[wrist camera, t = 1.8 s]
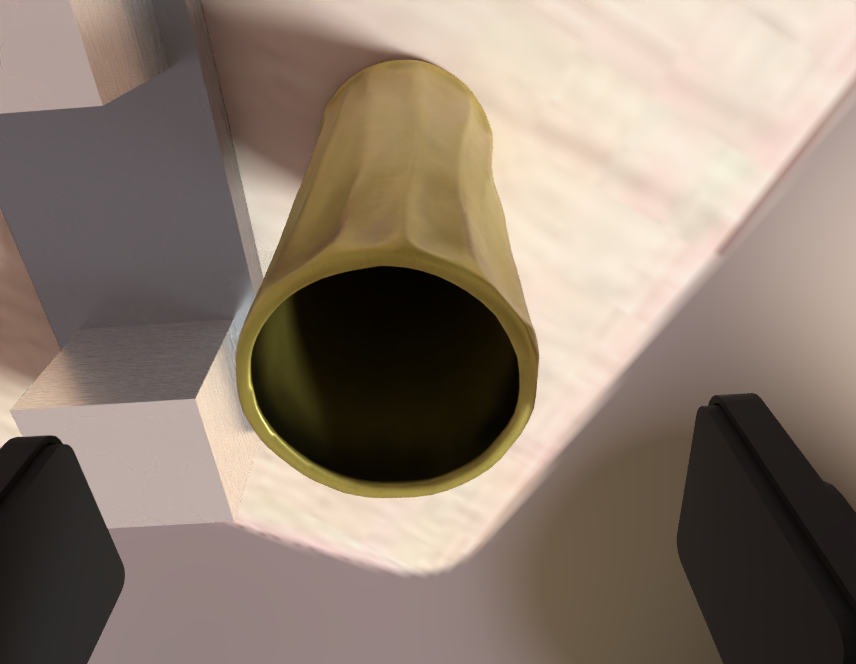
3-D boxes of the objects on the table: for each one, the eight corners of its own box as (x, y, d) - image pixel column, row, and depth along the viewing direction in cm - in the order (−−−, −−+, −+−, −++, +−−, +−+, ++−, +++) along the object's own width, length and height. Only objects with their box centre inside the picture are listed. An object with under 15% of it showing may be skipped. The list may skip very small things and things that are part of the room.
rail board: (-105, -123, 19) (-319, -144, 14) (167, -147, 19) (63, -178, 13) (114, 418, 30) (43, 531, 24) (291, 407, 29) (261, 519, 24)
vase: (434, 258, 26) (445, 557, 13) (289, 179, 24) (152, 438, 12) (525, 120, 23) (643, 338, 11) (370, 20, 21) (299, 143, 9)
